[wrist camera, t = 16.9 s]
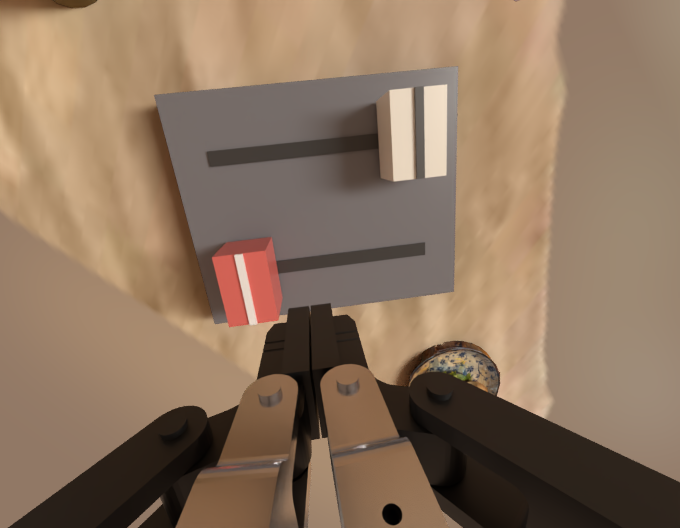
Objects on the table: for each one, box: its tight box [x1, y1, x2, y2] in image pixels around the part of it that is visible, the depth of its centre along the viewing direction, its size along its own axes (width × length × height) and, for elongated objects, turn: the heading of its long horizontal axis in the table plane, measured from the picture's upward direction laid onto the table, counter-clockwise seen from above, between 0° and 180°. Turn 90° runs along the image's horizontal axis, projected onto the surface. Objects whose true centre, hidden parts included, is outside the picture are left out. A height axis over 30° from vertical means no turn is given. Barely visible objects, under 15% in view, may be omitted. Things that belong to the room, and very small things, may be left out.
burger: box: [408, 341, 500, 396], centre depth 36 cm, size 12×12×8 cm
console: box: [154, 66, 458, 324], centre depth 29 cm, size 20×24×3 cm
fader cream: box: [376, 84, 447, 182], centre depth 24 cm, size 6×4×5 cm, turn 6°
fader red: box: [212, 237, 283, 327], centre depth 27 cm, size 6×4×5 cm, turn 6°
